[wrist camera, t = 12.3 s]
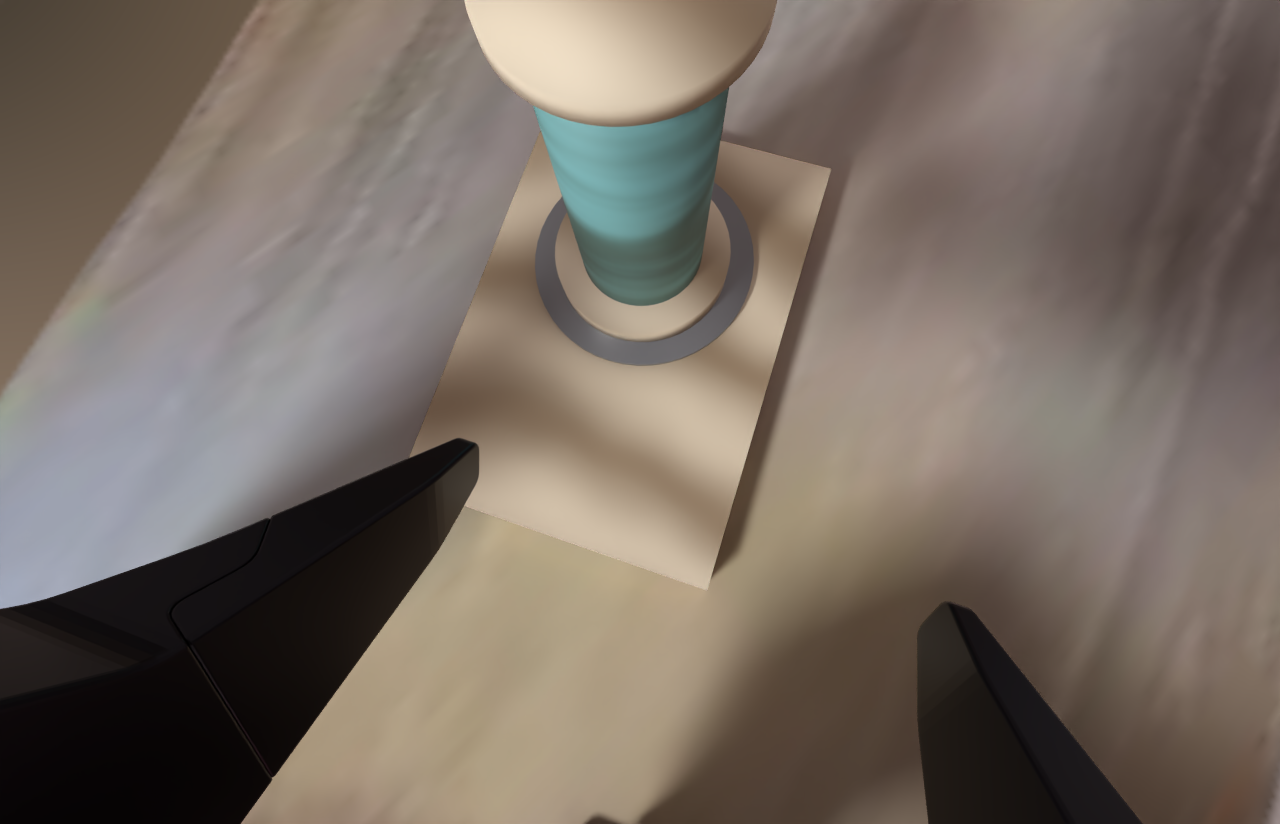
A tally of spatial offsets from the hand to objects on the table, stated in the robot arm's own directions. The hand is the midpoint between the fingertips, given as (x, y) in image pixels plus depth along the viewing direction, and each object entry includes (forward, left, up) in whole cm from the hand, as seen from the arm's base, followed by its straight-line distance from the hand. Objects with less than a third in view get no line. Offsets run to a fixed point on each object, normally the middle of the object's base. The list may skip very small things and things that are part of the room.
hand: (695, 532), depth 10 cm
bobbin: (+10, +5, -12) cm, 16 cm away
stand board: (+8, +5, -14) cm, 16 cm away
